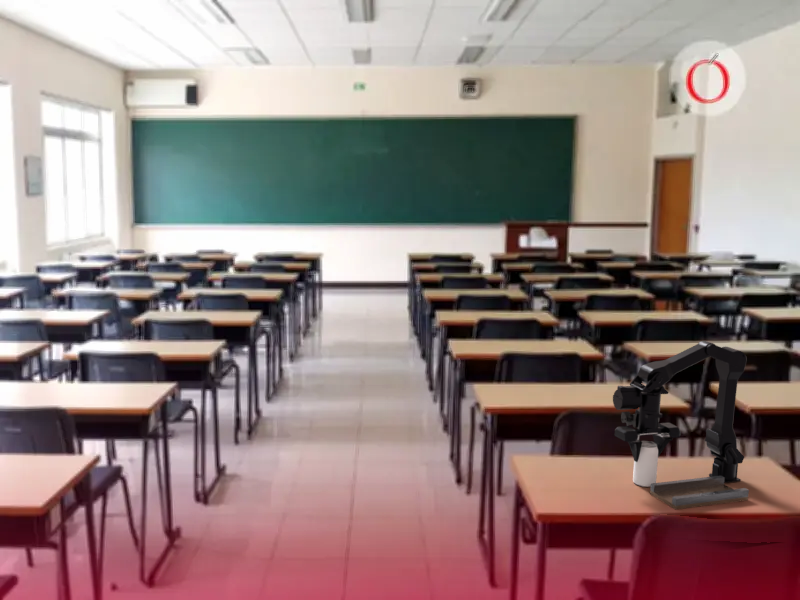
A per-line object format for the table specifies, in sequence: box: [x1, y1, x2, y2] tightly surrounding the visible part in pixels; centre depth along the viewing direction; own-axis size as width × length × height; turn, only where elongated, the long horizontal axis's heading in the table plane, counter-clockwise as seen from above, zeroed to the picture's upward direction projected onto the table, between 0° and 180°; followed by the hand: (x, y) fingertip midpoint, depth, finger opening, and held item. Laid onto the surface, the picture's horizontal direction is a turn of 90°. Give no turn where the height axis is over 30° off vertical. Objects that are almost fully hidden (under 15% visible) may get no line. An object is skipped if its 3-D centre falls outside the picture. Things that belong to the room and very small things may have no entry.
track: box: [649, 476, 750, 510], centre depth 210 cm, size 24×11×3 cm, turn 108°
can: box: [632, 440, 659, 488], centre depth 219 cm, size 6×6×12 cm
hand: (645, 460), depth 219 cm, fingers closed on can, 6 cm apart
